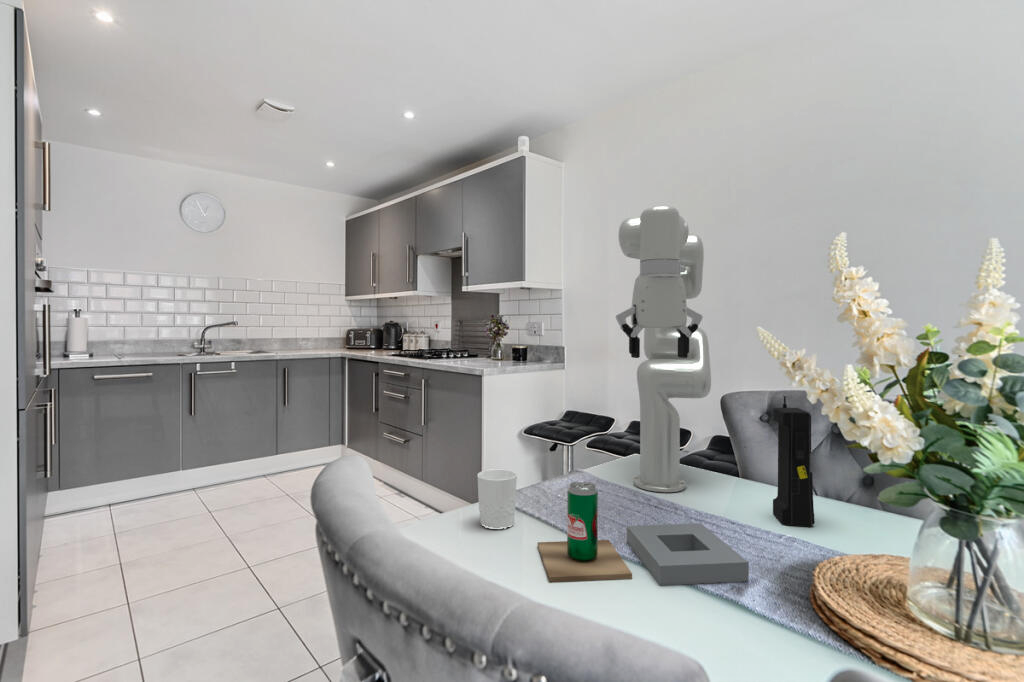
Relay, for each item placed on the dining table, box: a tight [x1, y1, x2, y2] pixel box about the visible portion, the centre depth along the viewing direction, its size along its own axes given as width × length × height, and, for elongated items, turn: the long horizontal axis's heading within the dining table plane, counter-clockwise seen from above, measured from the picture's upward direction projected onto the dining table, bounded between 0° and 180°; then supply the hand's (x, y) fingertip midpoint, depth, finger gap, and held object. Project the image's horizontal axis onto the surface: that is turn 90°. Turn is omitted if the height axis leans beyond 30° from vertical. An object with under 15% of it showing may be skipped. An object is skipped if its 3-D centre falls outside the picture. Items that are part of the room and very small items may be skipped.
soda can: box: [566, 481, 599, 562], centre depth 85 cm, size 5×5×12 cm
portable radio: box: [772, 395, 816, 528], centre depth 103 cm, size 8×6×25 cm
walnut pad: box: [537, 539, 633, 583], centre depth 85 cm, size 13×13×1 cm
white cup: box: [477, 468, 518, 528], centre depth 102 cm, size 8×8×10 cm
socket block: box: [626, 522, 750, 586], centre depth 85 cm, size 16×14×3 cm
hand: (659, 357), depth 101 cm, fingers open, 9 cm apart
